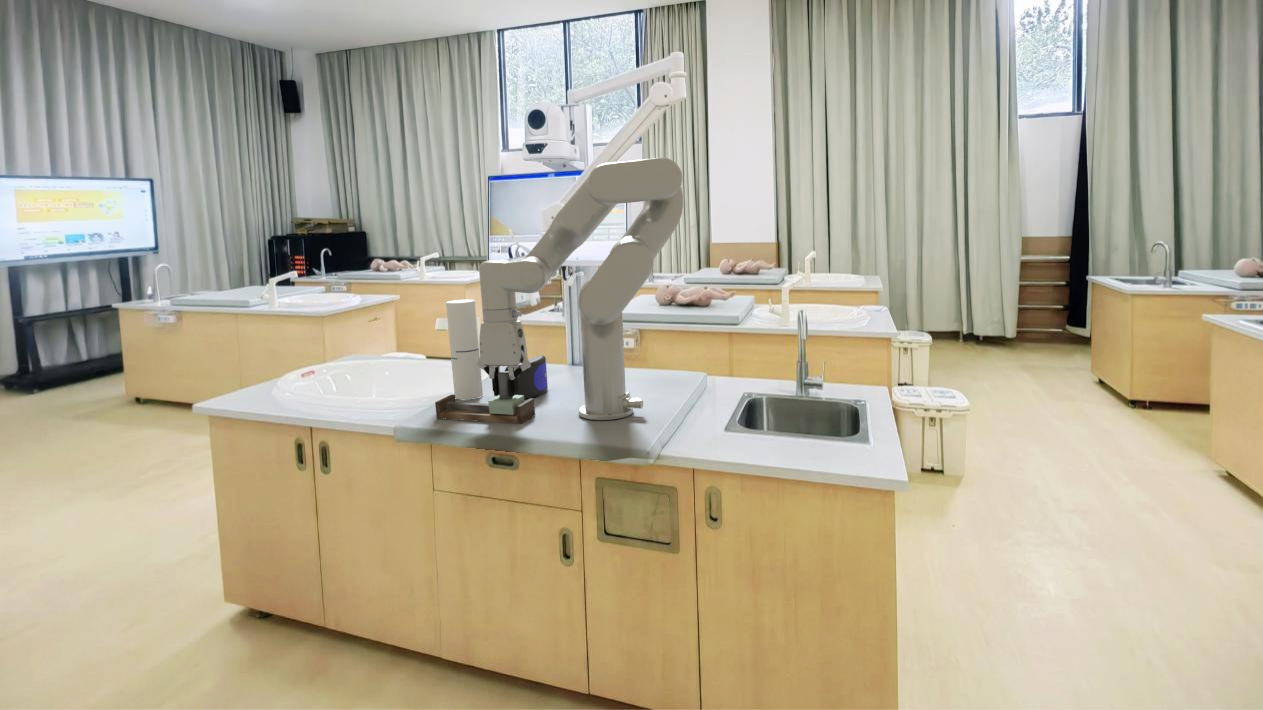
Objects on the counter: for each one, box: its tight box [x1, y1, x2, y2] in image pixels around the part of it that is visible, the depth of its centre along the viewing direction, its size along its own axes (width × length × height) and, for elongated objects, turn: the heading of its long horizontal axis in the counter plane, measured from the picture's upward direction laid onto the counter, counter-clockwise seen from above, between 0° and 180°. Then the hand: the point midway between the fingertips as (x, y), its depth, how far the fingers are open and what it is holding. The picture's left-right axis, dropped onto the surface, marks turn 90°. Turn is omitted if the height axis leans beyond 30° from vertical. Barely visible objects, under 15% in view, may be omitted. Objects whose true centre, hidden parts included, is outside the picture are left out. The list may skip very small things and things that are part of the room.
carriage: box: [487, 370, 525, 415], centre depth 167 cm, size 6×6×9 cm
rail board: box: [434, 394, 536, 425], centre depth 170 cm, size 22×7×4 cm, turn 72°
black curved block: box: [504, 354, 548, 401], centre depth 187 cm, size 16×5×9 cm, turn 151°
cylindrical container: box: [445, 299, 484, 399], centre depth 187 cm, size 7×7×25 cm
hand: (505, 394), depth 167 cm, fingers closed on carriage, 3 cm apart
